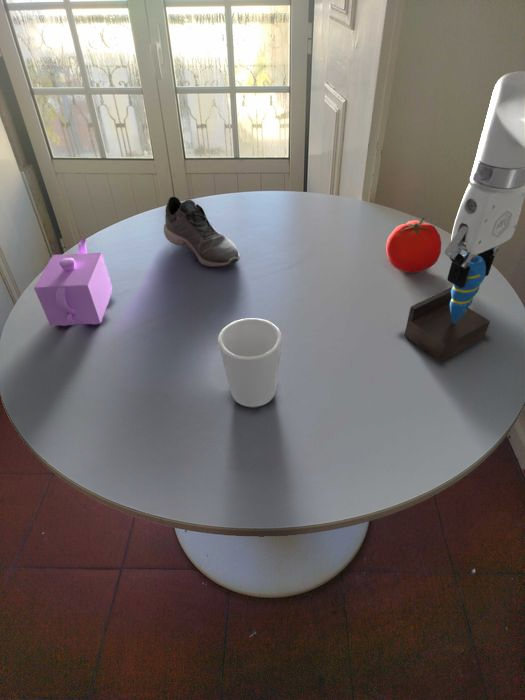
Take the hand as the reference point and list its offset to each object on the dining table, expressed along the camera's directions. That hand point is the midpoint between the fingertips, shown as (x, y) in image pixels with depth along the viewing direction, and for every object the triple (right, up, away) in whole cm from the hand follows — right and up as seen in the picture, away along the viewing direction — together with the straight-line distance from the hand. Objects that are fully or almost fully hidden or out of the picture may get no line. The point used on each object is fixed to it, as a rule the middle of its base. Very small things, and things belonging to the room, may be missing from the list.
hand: (467, 277), depth 80 cm
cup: (-36, -20, +1) cm, 42 cm away
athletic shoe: (-50, +12, +37) cm, 63 cm away
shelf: (0, -10, +10) cm, 14 cm away
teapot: (-72, -3, +21) cm, 76 cm away
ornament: (0, -7, +7) cm, 10 cm away
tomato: (-1, +6, +28) cm, 29 cm away
